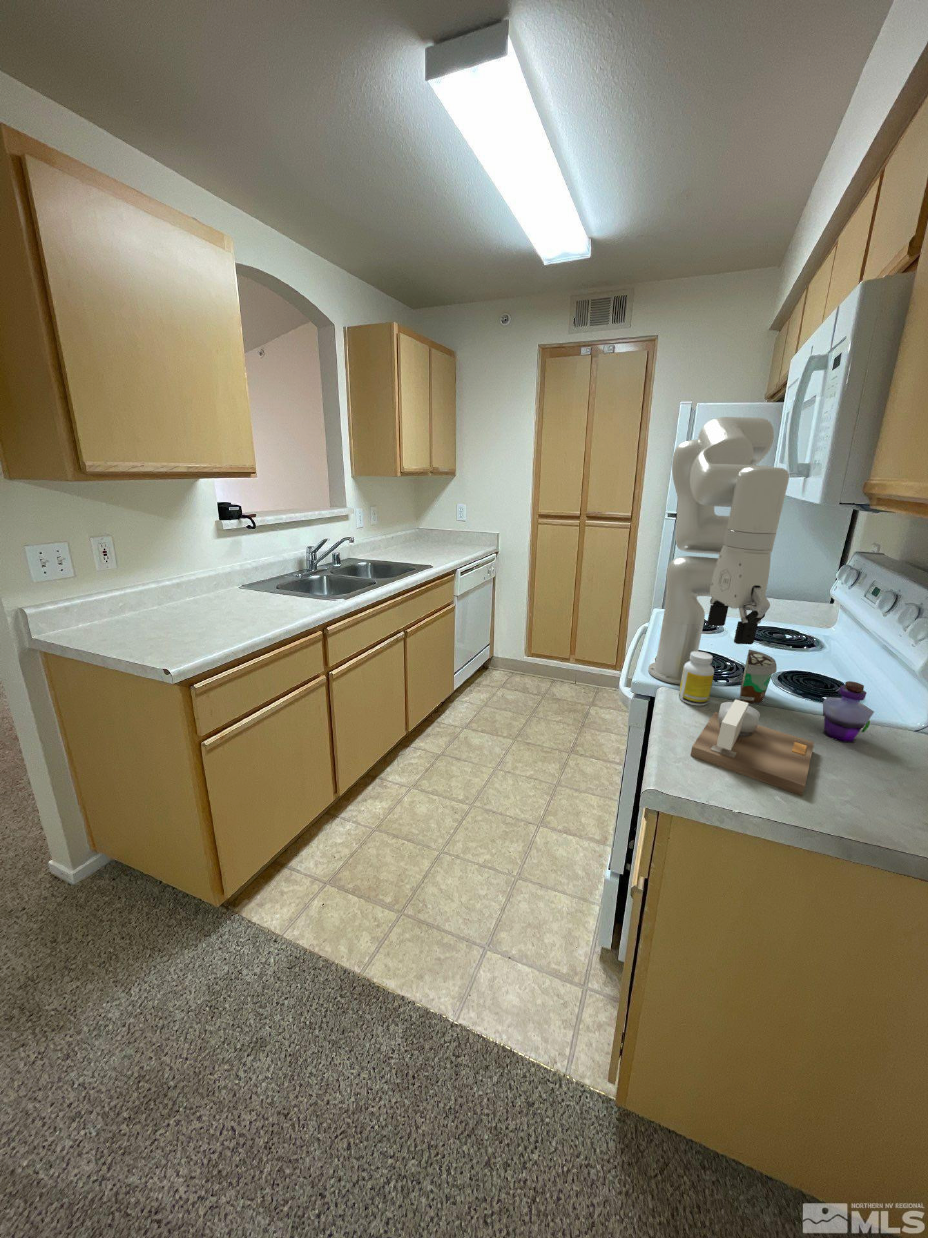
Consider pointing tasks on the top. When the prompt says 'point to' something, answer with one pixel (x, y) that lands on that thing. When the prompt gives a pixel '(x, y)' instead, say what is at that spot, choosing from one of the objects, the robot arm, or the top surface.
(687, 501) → the robot arm
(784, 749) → the post base
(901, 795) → the top surface
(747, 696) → the food container
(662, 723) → the top surface
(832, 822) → the top surface
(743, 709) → the white bar with knob
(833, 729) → the potion bottle
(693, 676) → the pill bottle
